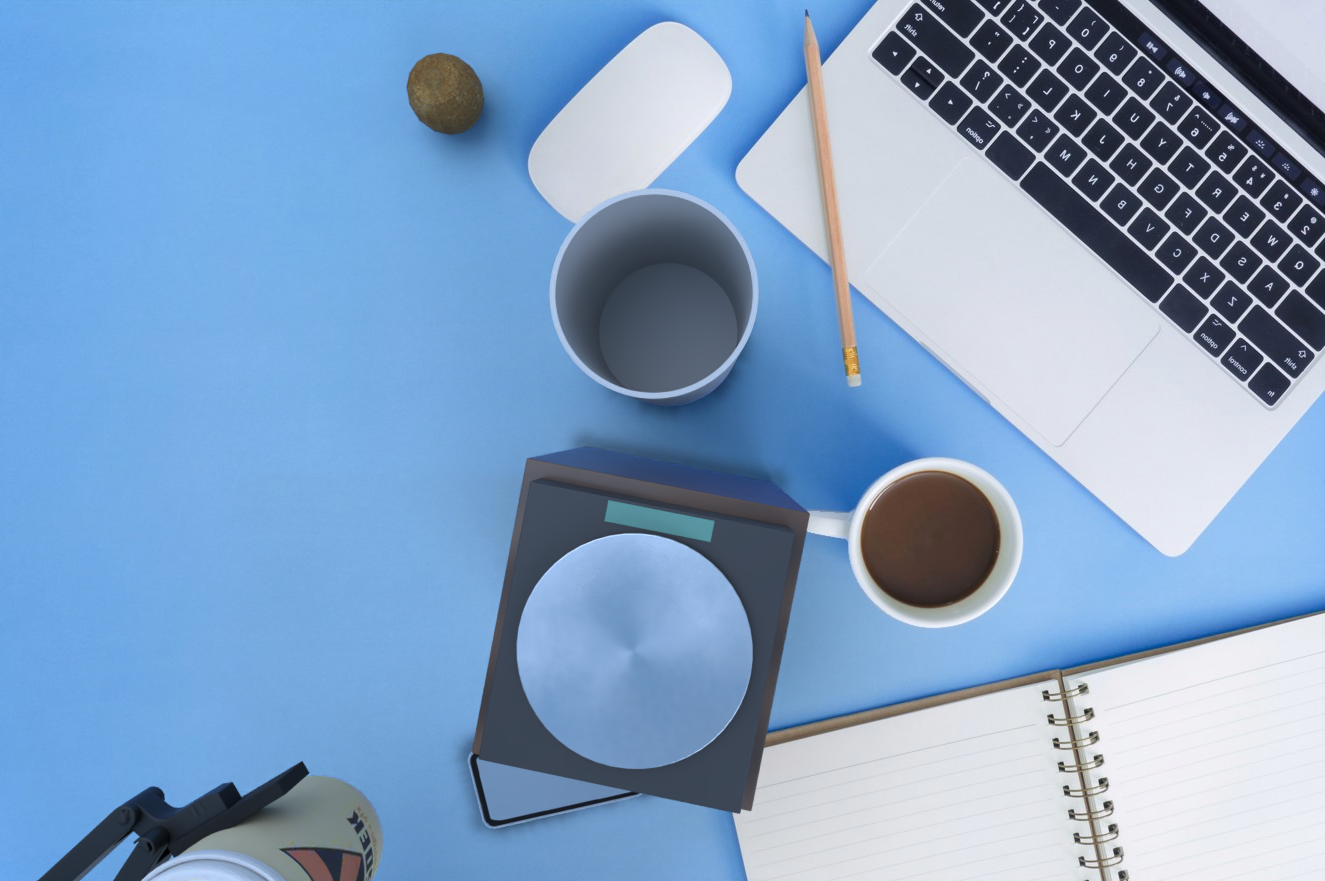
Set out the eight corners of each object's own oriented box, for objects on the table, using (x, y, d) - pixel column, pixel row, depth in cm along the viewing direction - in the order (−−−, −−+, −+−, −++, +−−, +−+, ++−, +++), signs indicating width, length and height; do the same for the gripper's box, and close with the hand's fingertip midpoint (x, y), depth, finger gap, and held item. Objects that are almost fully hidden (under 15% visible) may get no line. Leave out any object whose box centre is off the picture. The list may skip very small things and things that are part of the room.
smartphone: (465, 751, 78) (627, 713, 77) (467, 747, 79) (628, 710, 78) (485, 831, 78) (648, 795, 77) (487, 827, 79) (649, 791, 78)
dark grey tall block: (734, 681, 78) (751, 811, 52) (547, 643, 78) (471, 753, 52) (773, 482, 77) (810, 513, 51) (584, 446, 78) (526, 457, 52)
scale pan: (727, 786, 49) (728, 791, 48) (498, 739, 49) (496, 743, 48) (772, 556, 48) (773, 558, 48) (541, 511, 49) (539, 512, 48)
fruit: (505, 93, 78) (482, 55, 70) (476, 158, 78) (451, 128, 70) (441, 65, 78) (411, 24, 70) (413, 130, 78) (380, 96, 70)
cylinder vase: (755, 386, 77) (780, 369, 52) (617, 421, 78) (578, 420, 53) (720, 248, 77) (729, 164, 52) (583, 284, 78) (527, 218, 53)
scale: (738, 792, 52) (740, 815, 49) (490, 740, 52) (477, 760, 49) (790, 526, 51) (795, 533, 48) (539, 477, 52) (529, 481, 49)
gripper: (-67, 858, 49) (269, 655, 48) (126, 1185, 49) (468, 988, 48) (-205, 935, 42) (189, 697, 41) (21, 1321, 42) (424, 1092, 40)
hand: (339, 854), depth 44 cm, fingers closed on coffee cup, 8 cm apart
